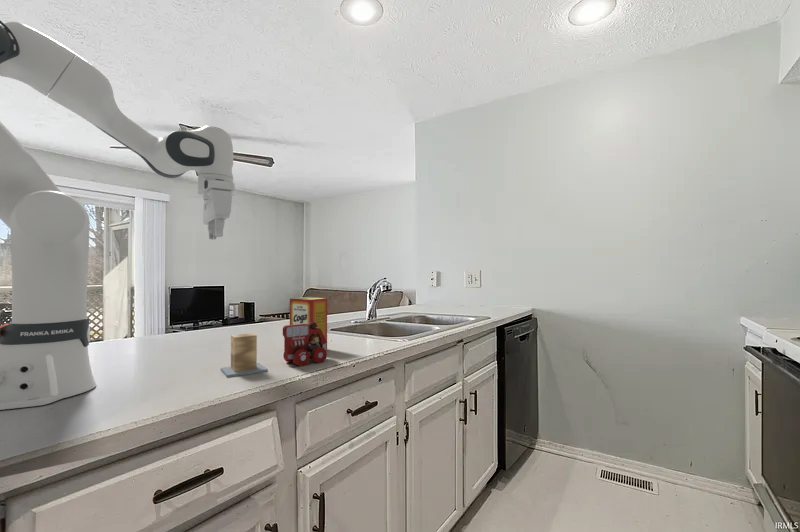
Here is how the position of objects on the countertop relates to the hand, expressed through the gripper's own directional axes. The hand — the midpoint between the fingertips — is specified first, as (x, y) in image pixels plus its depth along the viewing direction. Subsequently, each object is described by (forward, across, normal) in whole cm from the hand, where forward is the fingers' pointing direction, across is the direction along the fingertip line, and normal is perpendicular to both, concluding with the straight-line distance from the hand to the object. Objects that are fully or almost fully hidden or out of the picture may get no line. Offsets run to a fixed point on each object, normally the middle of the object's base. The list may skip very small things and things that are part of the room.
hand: (215, 238), depth 107 cm
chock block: (+33, +18, +3) cm, 37 cm away
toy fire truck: (+33, +18, +19) cm, 42 cm away
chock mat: (+33, +18, +4) cm, 38 cm away
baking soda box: (+33, +2, +26) cm, 42 cm away
